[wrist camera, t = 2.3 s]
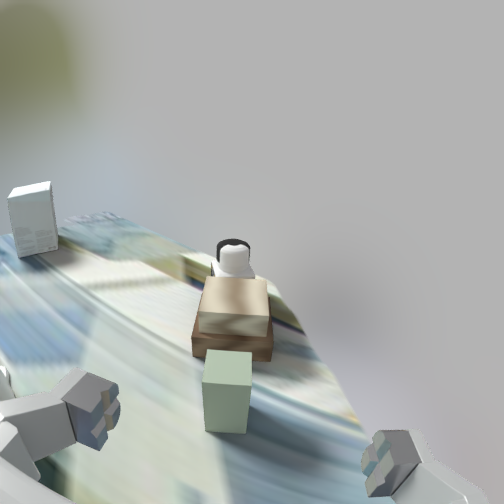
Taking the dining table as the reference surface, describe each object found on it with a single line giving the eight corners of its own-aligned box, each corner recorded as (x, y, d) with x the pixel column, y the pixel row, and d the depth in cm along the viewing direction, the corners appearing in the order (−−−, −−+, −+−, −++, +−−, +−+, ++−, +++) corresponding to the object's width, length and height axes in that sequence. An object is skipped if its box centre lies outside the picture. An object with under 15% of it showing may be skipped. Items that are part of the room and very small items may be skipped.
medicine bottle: (210, 290, 63) (211, 235, 58) (244, 287, 64) (248, 234, 59) (215, 310, 56) (216, 252, 51) (252, 307, 58) (258, 250, 53)
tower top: (199, 332, 44) (198, 311, 42) (207, 295, 53) (207, 276, 52) (266, 336, 45) (269, 315, 43) (264, 299, 54) (266, 280, 52)
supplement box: (58, 233, 83) (52, 180, 75) (58, 249, 73) (50, 189, 65) (22, 241, 76) (13, 187, 68) (17, 258, 66) (6, 198, 58)
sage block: (205, 430, 33) (201, 382, 28) (209, 401, 37) (207, 349, 33) (245, 433, 33) (251, 385, 29) (246, 403, 37) (251, 352, 33)
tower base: (192, 358, 45) (191, 336, 43) (202, 313, 56) (202, 292, 54) (270, 363, 45) (273, 342, 43) (267, 317, 56) (269, 297, 54)
